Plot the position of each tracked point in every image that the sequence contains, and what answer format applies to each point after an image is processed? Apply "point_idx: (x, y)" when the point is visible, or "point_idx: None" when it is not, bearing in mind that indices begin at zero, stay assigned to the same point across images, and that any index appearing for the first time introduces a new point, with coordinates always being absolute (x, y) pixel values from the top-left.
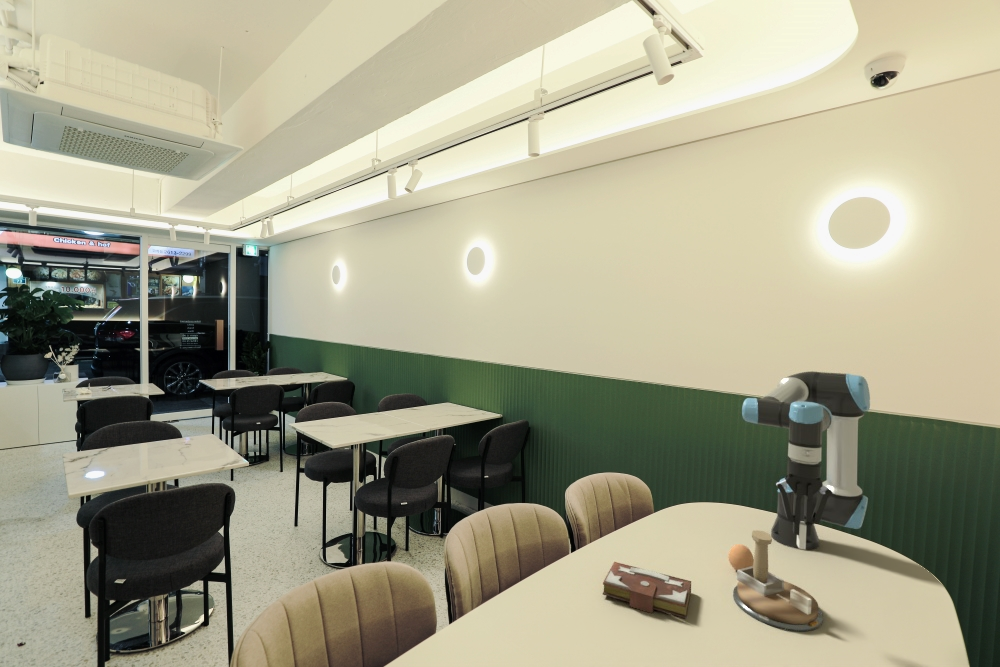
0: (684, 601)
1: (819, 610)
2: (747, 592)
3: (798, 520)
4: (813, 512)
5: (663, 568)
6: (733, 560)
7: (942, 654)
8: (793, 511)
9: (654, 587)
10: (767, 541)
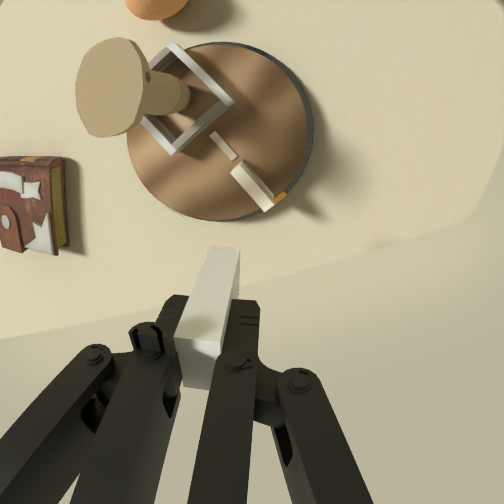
0: (51, 251)
1: (310, 132)
2: (145, 150)
3: (167, 404)
4: (292, 432)
5: (30, 92)
6: (134, 14)
7: (459, 213)
8: (116, 403)
9: (15, 225)
10: (122, 132)
